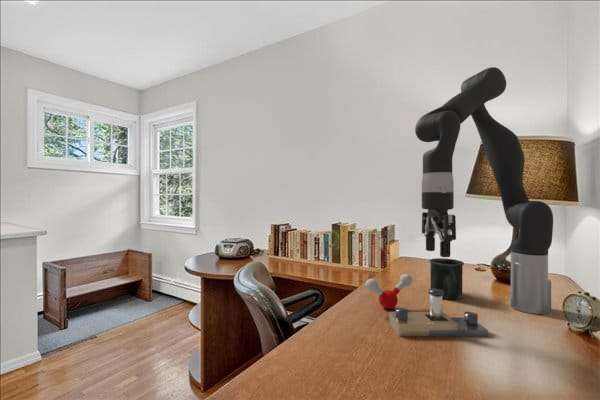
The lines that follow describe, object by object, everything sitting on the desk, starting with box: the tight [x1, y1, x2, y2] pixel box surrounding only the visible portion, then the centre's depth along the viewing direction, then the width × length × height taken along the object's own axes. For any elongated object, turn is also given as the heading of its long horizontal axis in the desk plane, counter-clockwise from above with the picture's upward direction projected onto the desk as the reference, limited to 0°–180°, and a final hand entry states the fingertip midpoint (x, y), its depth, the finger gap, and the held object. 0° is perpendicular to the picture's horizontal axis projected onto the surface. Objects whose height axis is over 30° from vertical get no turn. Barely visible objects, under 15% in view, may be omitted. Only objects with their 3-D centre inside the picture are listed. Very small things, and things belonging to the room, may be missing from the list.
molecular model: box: [365, 273, 413, 310], centre depth 95 cm, size 18×6×10 cm, turn 124°
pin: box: [428, 288, 444, 321], centre depth 80 cm, size 4×4×10 cm
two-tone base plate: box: [388, 307, 489, 337], centre depth 80 cm, size 22×8×5 cm, turn 90°
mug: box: [429, 257, 465, 301], centre depth 109 cm, size 11×15×12 cm
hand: (437, 253), depth 80 cm, fingers open, 8 cm apart
